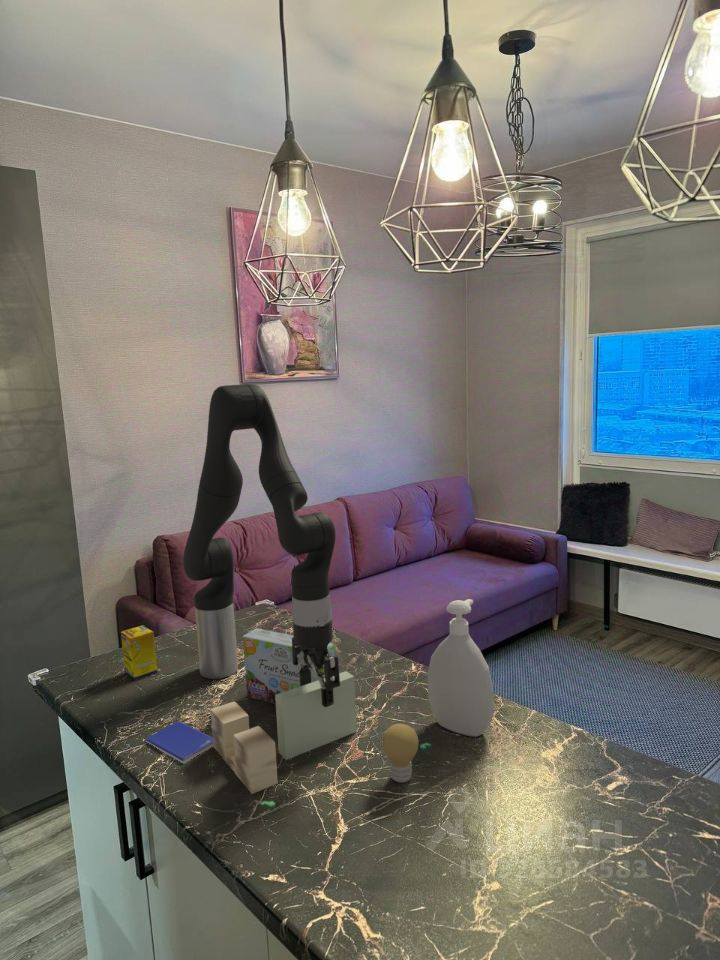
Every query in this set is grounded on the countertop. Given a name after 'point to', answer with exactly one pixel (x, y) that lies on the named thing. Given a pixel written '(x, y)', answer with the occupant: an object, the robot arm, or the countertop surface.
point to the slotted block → (244, 747)
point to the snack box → (271, 664)
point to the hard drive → (181, 741)
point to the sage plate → (314, 716)
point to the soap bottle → (460, 679)
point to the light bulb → (400, 750)
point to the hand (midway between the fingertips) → (316, 696)
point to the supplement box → (139, 652)
